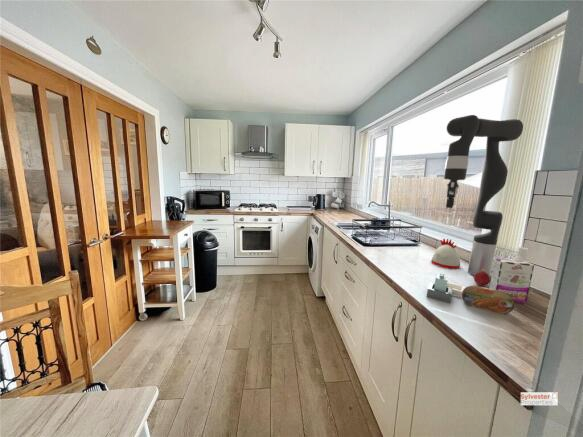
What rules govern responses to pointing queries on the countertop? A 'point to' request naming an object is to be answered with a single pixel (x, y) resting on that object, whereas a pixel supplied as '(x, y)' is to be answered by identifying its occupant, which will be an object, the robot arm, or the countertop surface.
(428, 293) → the block
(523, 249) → the bath foam
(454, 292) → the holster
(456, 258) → the white dome
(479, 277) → the onion
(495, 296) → the tin
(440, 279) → the plug
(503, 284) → the candy bar box
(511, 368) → the countertop surface
